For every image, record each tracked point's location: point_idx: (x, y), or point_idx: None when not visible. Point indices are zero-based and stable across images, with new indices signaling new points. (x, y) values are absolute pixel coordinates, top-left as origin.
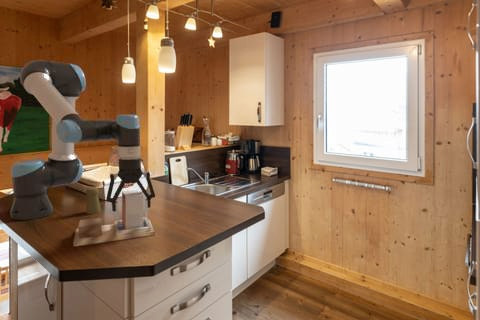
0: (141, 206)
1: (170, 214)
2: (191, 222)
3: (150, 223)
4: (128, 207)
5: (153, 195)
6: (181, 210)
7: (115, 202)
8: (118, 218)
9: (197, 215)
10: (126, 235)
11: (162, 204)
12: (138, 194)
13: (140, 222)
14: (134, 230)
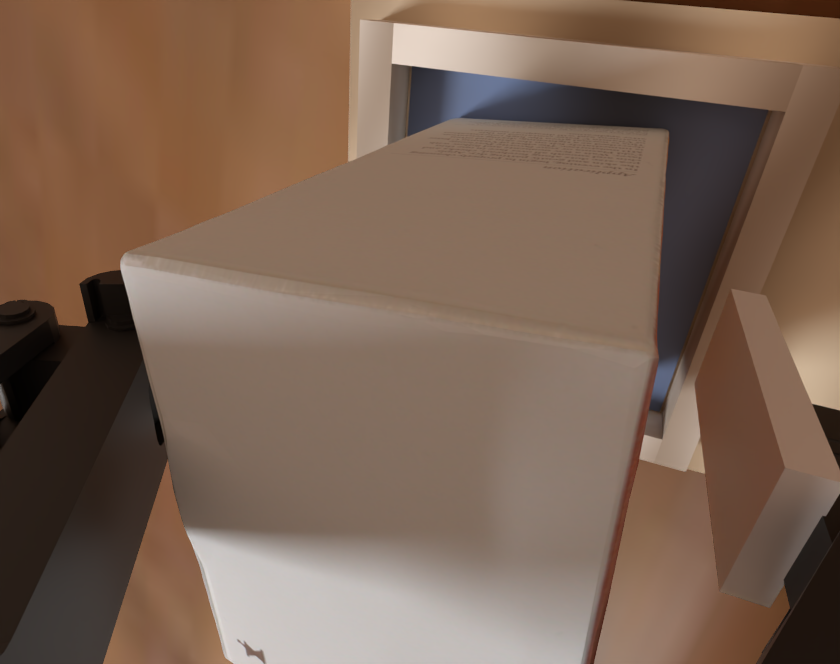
0: (329, 178)
1: None
2: (43, 159)
3: None
4: (592, 208)
5: (6, 319)
6: None
7: (825, 524)
8: (736, 301)
9: (11, 290)
10: (696, 14)
11: None
12: (224, 376)
13: (456, 132)
14: (574, 42)
